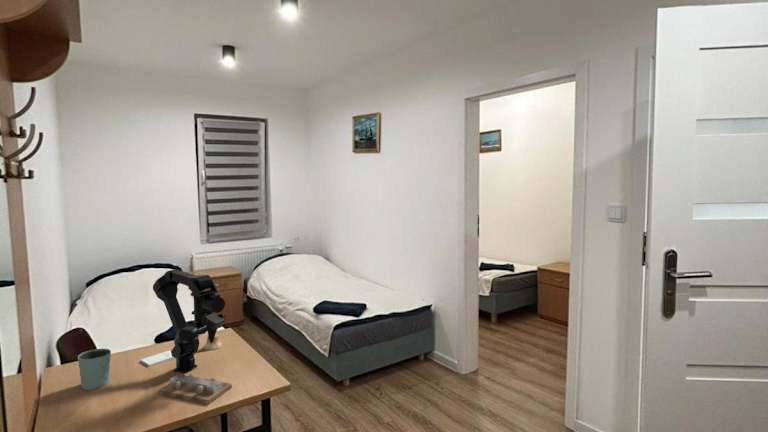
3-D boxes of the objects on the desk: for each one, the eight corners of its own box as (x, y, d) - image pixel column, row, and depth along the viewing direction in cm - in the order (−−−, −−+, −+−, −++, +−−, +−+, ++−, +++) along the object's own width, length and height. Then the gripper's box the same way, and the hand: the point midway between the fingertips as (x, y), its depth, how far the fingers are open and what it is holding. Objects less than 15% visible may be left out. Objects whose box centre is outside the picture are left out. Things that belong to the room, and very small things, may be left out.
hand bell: (226, 343, 196) (225, 310, 194) (215, 351, 188) (214, 316, 186) (210, 342, 197) (208, 309, 196) (199, 349, 189) (198, 315, 188)
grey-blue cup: (73, 388, 154) (71, 356, 153) (99, 376, 163) (98, 346, 162) (92, 393, 150) (90, 361, 149) (118, 380, 160) (117, 350, 159)
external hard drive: (140, 363, 176) (169, 353, 186) (149, 368, 171) (179, 357, 181) (139, 359, 176) (169, 349, 186) (149, 364, 171) (178, 354, 181)
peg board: (158, 393, 150) (158, 383, 150) (184, 378, 162) (183, 368, 161) (208, 404, 144) (208, 393, 143) (231, 387, 155) (231, 377, 155)
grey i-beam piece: (169, 385, 153) (169, 379, 153) (179, 379, 158) (179, 373, 157) (213, 394, 147) (213, 387, 147) (222, 388, 152) (222, 381, 151)
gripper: (201, 317, 150) (203, 359, 151) (235, 303, 167) (236, 340, 169) (176, 314, 153) (178, 355, 155) (212, 300, 171) (213, 337, 172)
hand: (203, 347), depth 162 cm, fingers open, 9 cm apart
